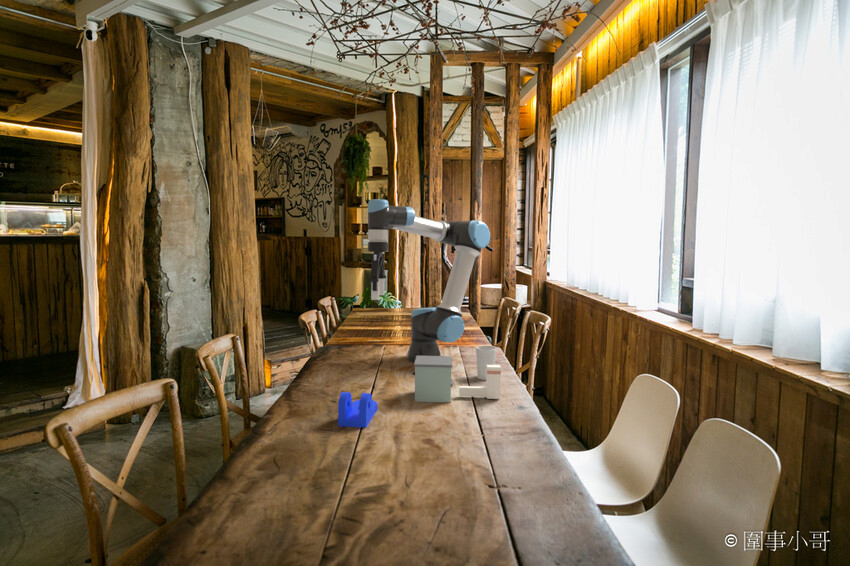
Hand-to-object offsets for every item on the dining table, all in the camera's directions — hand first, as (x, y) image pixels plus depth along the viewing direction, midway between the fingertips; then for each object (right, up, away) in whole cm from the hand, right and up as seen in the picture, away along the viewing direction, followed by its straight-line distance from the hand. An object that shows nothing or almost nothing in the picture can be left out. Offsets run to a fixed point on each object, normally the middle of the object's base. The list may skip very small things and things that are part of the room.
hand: (377, 297), depth 181 cm
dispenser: (+21, -34, -16) cm, 43 cm away
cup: (+42, -32, +6) cm, 53 cm away
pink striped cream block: (+37, -34, -17) cm, 53 cm away
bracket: (-2, -36, -34) cm, 49 cm away
